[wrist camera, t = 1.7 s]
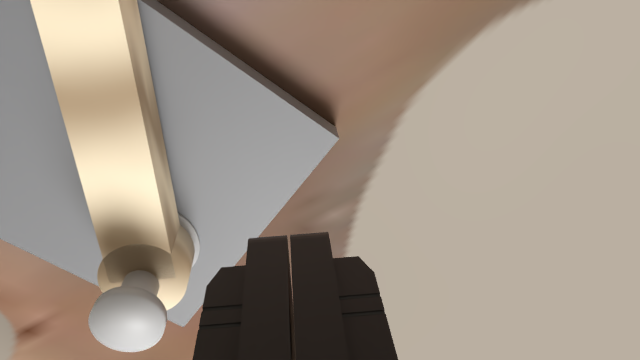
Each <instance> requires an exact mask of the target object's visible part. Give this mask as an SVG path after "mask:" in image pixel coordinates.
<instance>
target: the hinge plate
mask: <svg viewBox="0 0 640 360" xmlns="http://www.w3.org/2000/svg"><path fill="white" fill-rule="evenodd" d="M137 4H138V9H139V14H140V19H141V24H142V30H143V35H144V40H145V45H146V50H147V56H148V61H149V66H150V71H151V76H152V82H153V87H154V92H155V97H156V102H157V108H158V113H159V118H160V123H161V129H162V134H163V139H164V144H165V149H166V155H167V160H168V165H169V170H170V175H171V181H172V186H173V191H174V196H175V201H176V207H177V212H178V217H179V222H180V225H181V226H182V227H183V228H184V229H185V230H186V231H187V232H188V233H189V235H190V236H191V238H192V240H193V243H194V248H195V255H194V259H193V264H192V268H191V272H190V276H189V281H188V285H187V289H186V292H185V295H184V296H183V298H182V299H181V300H180V302H179V303H178V304H176V305H175V306H174V307H172V308H171V309H169V310H167V311H166V308H165V306H164V304H163V302H162V301H161V300H160V299H159V298H158V297H157V294H158V291H159V281H158V279H157V278H156V277H155V276H154V275H153V274H151V273H150V272H147V271H143V270H136V271H132V272H130V273H129V274H127V275H126V276H125V278H124V280H123V282H122V285H121V286H120V287H115V288H112V289H110V290H107V291H106V292H104V293H103V294H101V295H100V296H99V297H98V299H97V300H96V302H95V304H94V306H93V308H92V310H91V313H90V315H89V327H90V330H91V332H92V334H93V335H94V337H95V338H96V339H97V340H98V341H99V342H101V343H102V344H103V345H105V346H107V347H109V348H111V349H114V350H118V351H123V352H138V351H142V350H145V349H148V348H150V347H152V346H154V345H155V344H156V343H157V342H158V341H159V340H160V339H161V337H162V335H163V333H164V329H165V326H166V322H167V320H169V321H171V322H174V323H176V324H178V325H180V326H182V327H184V326H185V325H186V324H187V323H188V321H189V320H190V319H191V318H192V316H193V315H194V314H195V313H196V312H197V310H198V309H199V308H200V307H201V306H202V304H203V302H204V297H205V292H206V286H207V285H208V284H209V282H210V281H211V280H212V279H213V277H214V276H215V275H216V274H217V272H218V271H219V270H220V268H221V267H232V266H234V265H235V264H236V263H237V262H238V261H239V259H240V258H241V257H242V256H243V255H244V253H245V252H246V251H247V246H248V239H249V238H258V236H259V235H260V234H261V233H262V232H263V230H264V229H265V228H266V227H267V225H268V224H269V223H270V222H271V221H272V219H273V218H274V217H275V216H276V215H277V213H278V212H279V211H280V210H281V208H282V207H283V206H284V205H285V204H286V202H287V201H288V200H289V199H290V198H291V196H292V195H293V194H294V193H295V191H296V190H297V189H298V188H299V187H300V185H301V184H302V183H303V182H304V181H305V179H306V178H307V177H308V176H309V174H310V173H311V172H312V171H313V170H314V168H315V167H316V166H317V165H318V164H319V162H320V161H321V160H322V159H323V157H324V156H325V155H326V154H327V153H328V151H329V150H330V149H331V148H332V147H333V145H334V144H335V143H336V142H337V141H338V139H339V136H338V133H337V129H336V127H335V126H334V125H332V124H331V123H329V122H328V121H326V120H325V119H324V118H322V117H321V116H319V115H318V114H317V113H315V112H314V111H312V110H311V109H309V108H308V107H307V106H305V105H304V104H302V103H301V102H300V101H298V100H297V99H295V98H294V97H292V96H291V95H290V94H288V93H287V92H285V91H284V90H283V89H281V88H280V87H278V86H277V85H275V84H274V83H273V82H271V81H270V80H268V79H267V78H266V77H264V76H263V75H261V74H260V73H258V72H257V71H256V70H254V69H253V68H251V67H250V66H248V65H247V64H246V63H244V62H243V61H241V60H240V59H239V58H237V57H236V56H234V55H233V54H231V53H230V52H229V51H227V50H226V49H224V48H223V47H222V46H220V45H219V44H217V43H216V42H214V41H213V40H212V39H210V38H209V37H207V36H206V35H205V34H203V33H202V32H200V31H199V30H197V29H196V28H195V27H193V26H192V25H190V24H189V23H188V22H186V21H185V20H183V19H182V18H180V17H179V16H178V15H176V14H175V13H173V12H172V11H170V10H169V9H168V8H166V7H165V6H163V5H162V4H161V3H159V2H158V1H156V0H137ZM0 239H2V240H4V241H6V242H8V243H10V244H12V245H14V246H16V247H18V248H20V249H23V250H25V251H27V252H29V253H31V254H33V255H35V256H37V257H39V258H41V259H43V260H45V261H47V262H49V263H51V264H54V265H56V266H58V267H60V268H62V269H64V270H66V271H68V272H70V273H72V274H74V275H76V276H78V277H80V278H83V279H85V280H87V281H89V282H91V283H93V284H95V285H97V286H99V284H98V280H97V273H98V268H99V265H100V263H101V261H102V259H103V258H102V255H101V251H100V248H99V244H98V240H97V237H96V233H95V230H94V226H93V223H92V219H91V215H90V212H89V208H88V205H87V201H86V198H85V194H84V191H83V187H82V183H81V180H80V176H79V173H78V169H77V166H76V162H75V159H74V155H73V151H72V148H71V144H70V141H69V137H68V134H67V130H66V126H65V123H64V119H63V116H62V112H61V109H60V105H59V102H58V98H57V94H56V91H55V87H54V84H53V80H52V77H51V73H50V69H49V66H48V62H47V59H46V55H45V52H44V48H43V45H42V41H41V37H40V34H39V30H38V27H37V23H36V20H35V16H34V13H33V9H32V5H31V2H30V0H0Z"/></svg>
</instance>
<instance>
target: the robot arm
mask: <svg viewBox="0 0 640 360" xmlns="http://www.w3.org/2000/svg"><path fill="white" fill-rule="evenodd" d="M290 241H291V264H292V287H293V299H292V287H291V275H290V263H289V251H288V240H287V235H286V236H272V237H259V238H249V239H248V246H247V258H246V265H245V266H232V267H221V268H220V270H219V271H218V272H217V274H216V275H215V276H214V277H213V279H212V280H211V281H210V282H209V284H208V285H207V286H206V292H205V297H204V302H203V312H202V313H201V318H200V324H199V330H198V334H197V340H196V345H195V350H194V356H193V360H398V358H397V354H396V351H395V347H394V344H393V340H392V336H391V332H390V329H389V325H388V321H387V318H386V314H385V312H384V307H383V303H382V299H381V297H380V292H379V288H378V285H377V281H376V277H375V274H374V272H373V271H372V270H371V269H370V268H369V267H368V266H367V265H366V264H365V263H364V262H363V261H362V260H361V259H360V258H359V257H358V256H357V257H344V258H333V257H332V251H331V245H330V239H329V234H328V232H323V233H310V234H297V235H290ZM293 310H294V312H293Z"/></svg>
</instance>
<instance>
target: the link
mask: <svg viewBox="0 0 640 360" xmlns="http://www.w3.org/2000/svg"><path fill="white" fill-rule="evenodd" d="M30 2H31V5H32V9H33V13H34V16H35V20H36V23H37V27H38V30H39V34H40V37H41V41H42V45H43V48H44V52H45V55H46V59H47V62H48V66H49V69H50V73H51V77H52V80H53V84H54V87H55V91H56V94H57V98H58V102H59V105H60V109H61V112H62V116H63V119H64V123H65V126H66V130H67V134H68V137H69V141H70V144H71V148H72V151H73V155H74V159H75V162H76V166H77V169H78V173H79V176H80V180H81V183H82V187H83V191H84V194H85V198H86V201H87V205H88V208H89V212H90V215H91V219H92V223H93V226H94V230H95V233H96V237H97V240H98V244H99V248H100V251H101V255H102V258H103V259H102V261H101V263H100V265H99V268H98V273H97V280H98V284H99V287H100V289H101V291H102V293H104V292H106V291H107V290H110V289H112V288H115V287H120V286H121V285H122V282H123V280H124V278H125V276H126V275H127V274H129V273H130V272H132V271H136V270H143V271H147V272H150V273H151V274H153V275H154V276H155V277H156V278H157V279H158V281H159V291H158V294H157V297H158V298H159V299H160V300H161V301H162V302H163V304H164V306H165V308H166V311H167V310H169V309H171V308H172V307H174V306H175V305H176V304H178V303H179V302H180V300H181V299H182V298H183V296H184V295H185V292H186V289H187V285H188V281H189V276H190V272H191V268H192V264H193V259H194V255H195V248H194V243H193V240H192V238H191V236H190V235H189V233H188V232H187V231H186V230H185V229H184V228H183V227H182V226H181V225H180V222H179V217H178V212H177V207H176V201H175V196H174V191H173V186H172V181H171V175H170V170H169V165H168V160H167V155H166V149H165V144H164V139H163V134H162V129H161V123H160V118H159V113H158V108H157V102H156V97H155V92H154V87H153V82H152V76H151V71H150V66H149V61H148V56H147V50H146V45H145V40H144V35H143V30H142V24H141V19H140V14H139V9H138V4H137V0H30Z"/></svg>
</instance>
